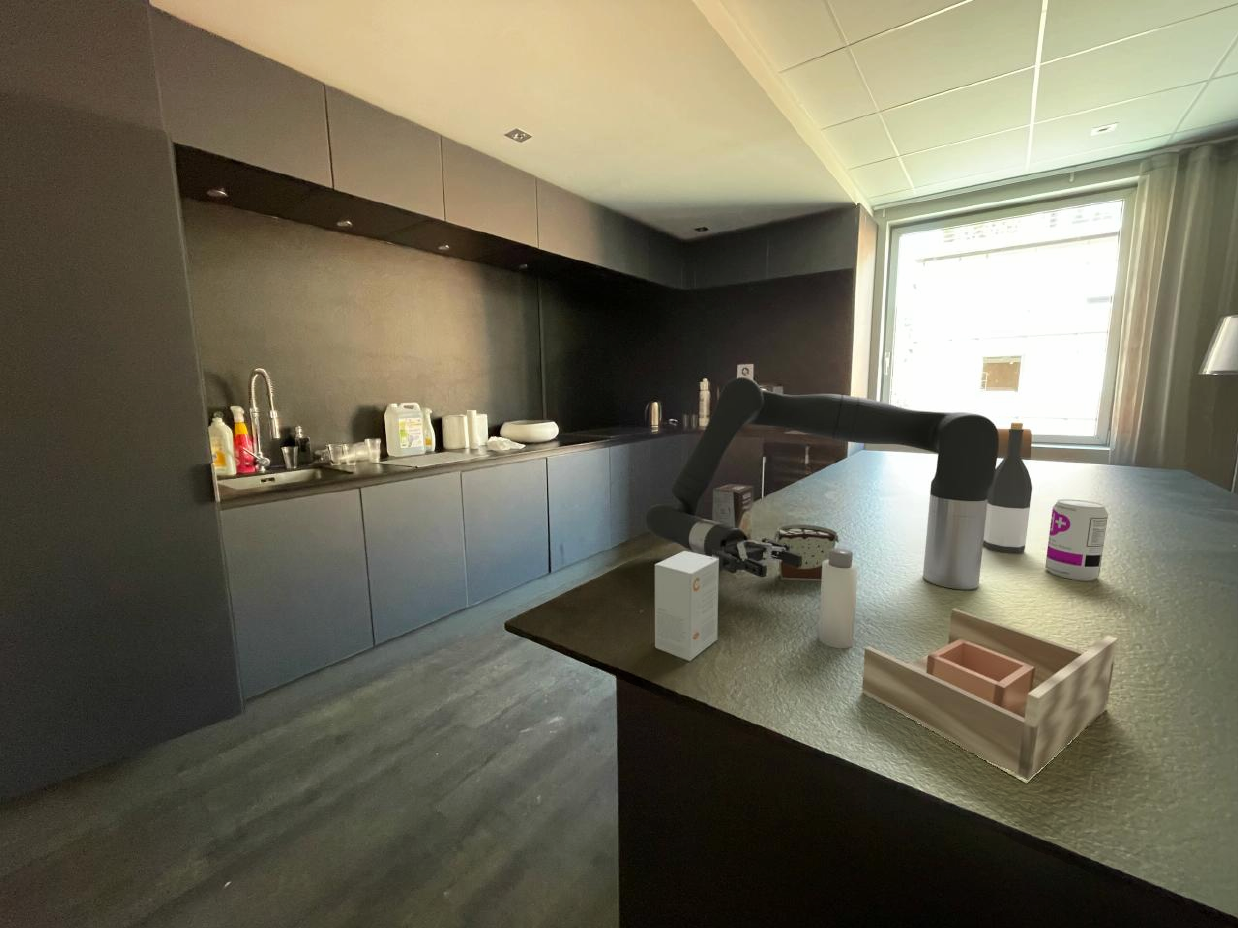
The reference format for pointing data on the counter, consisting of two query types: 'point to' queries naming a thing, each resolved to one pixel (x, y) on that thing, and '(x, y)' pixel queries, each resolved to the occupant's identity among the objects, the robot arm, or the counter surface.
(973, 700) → the wooden tray
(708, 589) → the small box
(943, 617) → the counter surface
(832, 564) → the white plastic bottle
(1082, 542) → the supplement can
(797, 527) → the food container
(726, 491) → the coffee box
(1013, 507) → the wine bottle
